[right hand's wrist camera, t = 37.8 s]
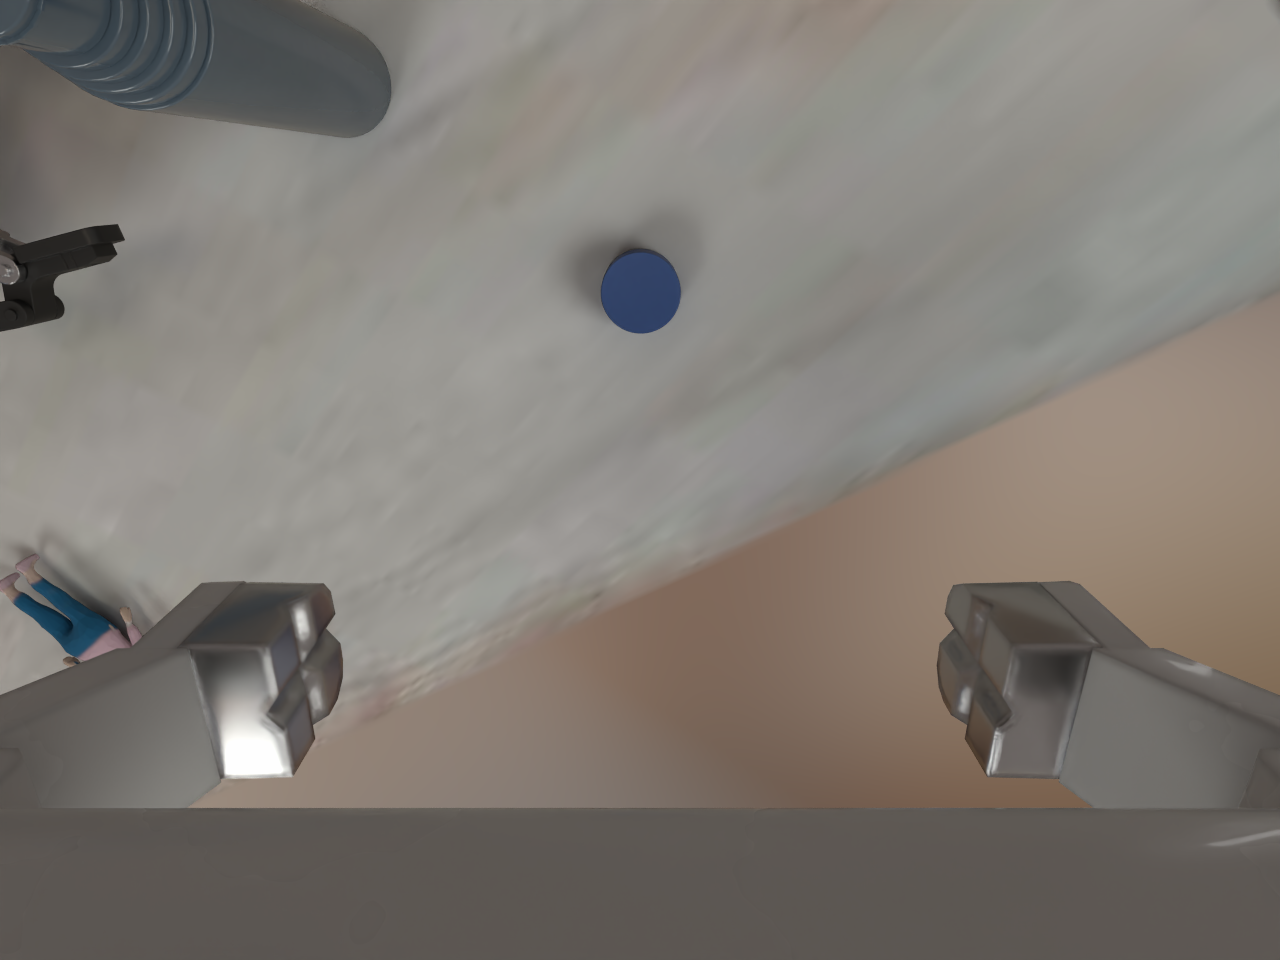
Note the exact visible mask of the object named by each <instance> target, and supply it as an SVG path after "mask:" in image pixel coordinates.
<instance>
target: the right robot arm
mask: <svg viewBox="0 0 1280 960" xmlns="http://www.w3.org/2000/svg"><path fill="white" fill-rule="evenodd" d="M334 615H335V610H334V605H333V600H332V595H331V591H330V590H329V589H328V588H327V587H326V586H325V584H324V583H274V582H248V583H247V582H245V581H232V582H208V583H201V584H200V585H199V586H198V587H197V588H196V589H194V590H193V591H192V592H191V593H190V594H189V595H188V596H187V597H186V598H185V599H183V600H182V601H181V602H180V603H179V604H178V605H177V606H176V607H175V608H174V609H172V610H171V611H170V612H169V613H168V614H167V615H166V616H165V617H164V618H163V619H161V620H160V621H159V622H158V623H157V624H156V625H155V626H154V627H153V628H152V629H150V630H149V631H148V632H147V633H146V634H145V635H144V636H143V637H142V638H140V639H139V640H138V641H137V642H136V643H135V644H134V645H133V646H132V647H131V648H116V649H114V650H111V651H109V652H106V653H104V654H101V655H99V656H96V657H94V658H91V659H89V660H87V661H84V662H82V663H79V664H77V665H74V666H72V667H69V668H67V669H64V670H62V671H59V672H57V673H54V674H52V675H49V676H47V677H44V678H42V679H39V680H37V681H34V682H32V683H29V684H27V685H24V686H22V687H19V688H17V689H15V690H12V691H10V692H7V693H5V694H2V695H0V960H1280V695H1278V694H1275V693H1273V692H1270V691H1268V690H1265V689H1263V688H1260V687H1258V686H1255V685H1253V684H1250V683H1248V682H1245V681H1243V680H1240V679H1238V678H1235V677H1233V676H1231V675H1228V674H1226V673H1223V672H1221V671H1218V670H1216V669H1213V668H1211V667H1208V666H1206V665H1203V664H1201V663H1198V662H1196V661H1193V660H1191V659H1188V658H1186V657H1183V656H1181V655H1178V654H1176V653H1174V652H1171V651H1169V650H1166V649H1164V648H1149V647H1148V646H1147V645H1146V644H1145V643H1144V642H1143V641H1142V640H1141V639H1140V638H1138V637H1137V636H1136V635H1135V634H1134V633H1133V632H1132V631H1131V630H1130V629H1129V628H1128V627H1126V626H1125V625H1124V624H1123V623H1122V622H1121V621H1120V620H1119V619H1118V618H1116V617H1115V616H1114V615H1113V614H1112V613H1111V612H1110V611H1109V610H1108V609H1107V608H1106V607H1104V606H1103V605H1102V604H1101V603H1100V602H1099V601H1098V600H1097V599H1096V598H1095V597H1093V596H1092V595H1091V594H1090V593H1089V592H1088V591H1087V590H1086V589H1085V588H1084V587H1082V586H1081V585H1080V584H1078V583H1074V582H1071V581H1059V582H1012V583H970V584H958V585H953V587H952V589H951V591H950V593H949V595H948V598H947V604H946V609H945V615H946V617H947V618H948V620H949V621H950V623H951V624H952V626H953V628H954V629H953V630H952V631H951V632H950V633H949V634H948V635H947V636H946V637H945V638H944V639H943V641H942V642H941V643H940V645H939V653H938V661H937V673H938V684H939V689H940V692H941V695H942V698H943V701H944V703H945V705H946V707H947V709H948V710H949V712H950V714H951V715H952V716H954V717H955V718H957V719H958V720H960V721H962V722H963V723H965V724H967V730H966V735H965V740H966V742H967V743H968V745H969V747H970V748H971V750H972V752H973V753H974V755H975V757H976V759H977V760H978V762H979V764H980V765H981V767H982V769H983V770H984V772H985V774H986V776H987V777H1003V778H1039V779H1060V780H1059V783H1061V784H1062V785H1063V786H1065V787H1066V788H1067V789H1069V790H1070V791H1072V792H1073V793H1074V794H1076V795H1077V796H1078V797H1080V798H1081V799H1082V800H1084V801H1085V802H1086V803H1088V804H1089V805H1090V806H1092V807H1093V808H187V807H189V806H190V805H191V804H193V803H194V802H195V801H197V800H198V799H199V798H201V797H202V796H203V795H205V794H206V793H207V792H209V791H210V790H211V789H213V788H214V787H215V786H217V785H218V784H220V783H221V780H220V779H240V778H275V777H293V776H294V774H295V772H296V771H297V769H298V767H299V766H300V764H301V762H302V760H303V759H304V757H305V755H306V754H307V752H308V750H309V749H310V747H311V745H312V743H313V742H314V740H315V735H314V730H313V725H314V724H315V723H317V722H318V721H320V720H322V719H323V718H325V717H326V716H328V715H329V714H330V712H331V710H332V709H333V707H334V705H335V703H336V701H337V699H338V695H339V691H340V687H341V683H342V678H343V658H342V651H341V645H340V643H339V642H338V640H337V639H336V638H335V637H334V636H333V635H332V634H331V633H330V632H329V631H328V630H327V629H326V628H327V626H328V624H329V623H330V621H331V620H332V618H333V617H334Z"/></svg>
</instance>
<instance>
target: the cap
mask: <svg viewBox="0 0 1280 960" xmlns="http://www.w3.org/2000/svg"><path fill="white" fill-rule="evenodd" d="M680 297H681V289H680V283H679V280H678V277H677V274H676V272H675V270H674V268H673V266H672V265H671V263H670V262H669V261H668V260H667V259H666V258H665V257H663V256H662V255H660V254H659V253H657V252H655V251H652V250H647V249H634V250H630V251H627V252H625V253H623V254H621V255H620V256H618V257H617V258H616V259H615V260H614V261H613V262H612V263H611V264H610V266H609V267H608V269H607V271H606V273H605V276H604V278H603V282H602V286H601V299H602V304H603V307H604V309H605V312H606V313H607V315H608V317H609V318H610V319H611V320H612V321H613V322H614V323H615V324H616V325H617V326H619V327H620V328H622V329H624V330H626V331H629V332H632V333H649V332H653V331H656V330H658V329H660V328H662V327H663V326H664V325H666V324H667V323H668V322H669V321H670V320H671V319H672V317H673V316H674V314H675V313H676V311H677V309H678V306H679V303H680Z"/></svg>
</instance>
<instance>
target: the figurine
mask: <svg viewBox="0 0 1280 960" xmlns="http://www.w3.org/2000/svg"><path fill="white" fill-rule="evenodd" d="M38 559H39V556H38V555H37V554H33V555H31V556H29V557H27V558H25V559H24V560H22V561H20V562H19V563H17V564H16V565H15V567H16V569H17V570H18V571H20V572H21V573H22V574H23V575H25V576H26V578H27V580H28V582H29V584H30V585H31V586H32V587H33V588H34V590H36V591H37V592H39V593H40V594H42V595H43V596H44V597H45V598H47V599H48V600H49V601H50V602H51V603H52V604H53V605H54V606H55V607H56V608H57V609H59V610H60V611H61V612H63V613H64V614H65V615H66V616H67V617H69V618H70V620H71V621H70V620H69V619H68V618H66V617H65V616H63V615H62V614H60V613H59V612H57V611H55V610H53V609H51V608H49V607H47V606H44V605H42V604H40V603H38V602H36V601H35V600H33V599H32V598H31V597H30V596H29V595H27V594H25V593H23V592H20V591H18V590H17V589H15V587H14V583H15V581H16V580H17V579H18V578H19V577H20V574H19V573H13V574H11V575H9V576H7V577H5V578H4V579H2V580H1V581H0V591H2V592H3V593H4V594H6V595H7V596H8V598H9V599H10V600H11V601H12V602H13V604H14V605H16V606H17V607H18V608H19V609H20V610H22V611H23V612H25V613H26V614H28V615H29V616H31V617H32V618H34V619H35V620H36V621H37V622H38V623H39V624H40V625H41V627H42V628H44V629H45V630H46V631H48V632H49V633H50V634H51V635H52V636H53V637H54V638H55V639H56V640H57V641H58V642H59V643H60V644H61V646H62V647H63V648H64V650H65V651H66V652H67V653H69V654H70V655H72V656H74V657H73V658H72V657H66V658H64V659H63V662H64V664H65V665H67V666H69V667H72V666H74V665H77V664H79V663H80V662H79V660H78V659H77V658H79V659H81V660H84V661H87V660H89V659H91V658H94V657H96V656H99V655H101V654H104V653H106V652H109V651H111V650H114V649H116V648H131V647H132V646H133V645H134V644H135V643H136V642H137V641H138V640H139V639H140V638H142V636H141V634H140V632H139V630H138V628H137V627H136V626H135V625H133V624H132V614H131V610H130V608H129V607H128V609H127V607H122V608H120V613H121V616H122V618H123V620H124V621H125V623H126V627H127V633H128V636H129V638H130V641H131V643H132V644H131V643H130V642H129V641H128V640H127V639H126V638H125V637H124V636H123V635H122V634H121V632H120V631H119V629H118V628H117V627H116V626H115V625H113V624H112V623H111V622H109V621H108V620H107V619H105V618H104V617H102V616H101V615H99V614H97V613H95V612H93V611H91V610H90V609H88V608H87V607H85V606H84V605H83V604H81V603H80V602H78V601H76V600H75V599H73V598H72V597H71V596H69V595H68V594H67V593H66V592H64V591H63V590H61V589H60V588H58V587H56V586H54V585H53V584H51V583H50V582H48V581H47V580H45V579H44V578H43V577H42V576H40V575H39V574H38V573H37V572H36V571H35V570H34V564H35V562H36V561H37V560H38ZM75 657H77V658H75Z"/></svg>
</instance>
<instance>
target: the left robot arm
mask: <svg viewBox="0 0 1280 960" xmlns="http://www.w3.org/2000/svg"><path fill="white" fill-rule="evenodd" d="M9 236H10V234H9V233H7V232H6V231H3V230H1V229H0V282H1V283H2V286H3V292H4V297H5V301H2V302H0V331H6V330H11V329H16V328H21V327H25V326H29V325H34V324H38V323H42V322H46V321H50V320H54V319H58V318H60V317H62V316H63V314H64V305H63V303H62V301H61V300H60V299H59V298H58V297H57V296H56V295H54V288H53V285H54V281H55V279H56V278H57V277H58V276H59V275H61V274H64V273H67V272H71V271H75V270H79V269H82V268H86V267H90V266H94V265H97V264H101V263H105V262H109V261H110V260H112V259H113V258H114V257H115V256H116V255H117V252H116V250H115V248H114V246H113V244H114V243H117V242H121V241H124V240H125V239H124V237H123V234H122V232H121V230H120V228H119V226H118V224H115V225H103V226H94V227H88V228H84V229H80V230H76V231H72V232H68V233H65V234H61V235H57V236H53V237H50V238H46V239H42V240H39V241H35V242H31V243H27V244H25V243H23V242H20V241H18V240H15V239H13V238H11V237H9Z"/></svg>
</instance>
